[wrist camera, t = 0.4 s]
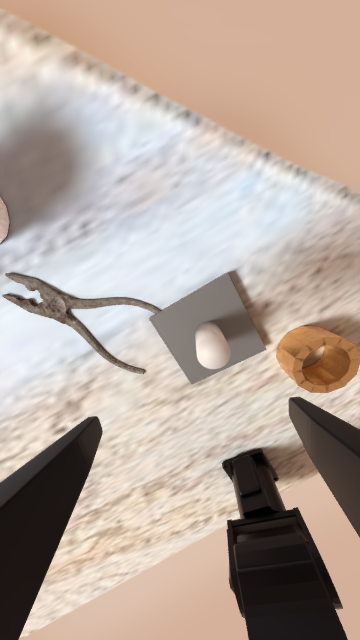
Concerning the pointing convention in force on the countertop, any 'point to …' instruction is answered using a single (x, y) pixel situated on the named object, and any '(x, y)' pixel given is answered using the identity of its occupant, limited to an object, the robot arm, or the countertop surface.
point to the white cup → (3, 220)
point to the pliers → (59, 305)
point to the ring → (329, 370)
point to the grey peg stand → (208, 330)
